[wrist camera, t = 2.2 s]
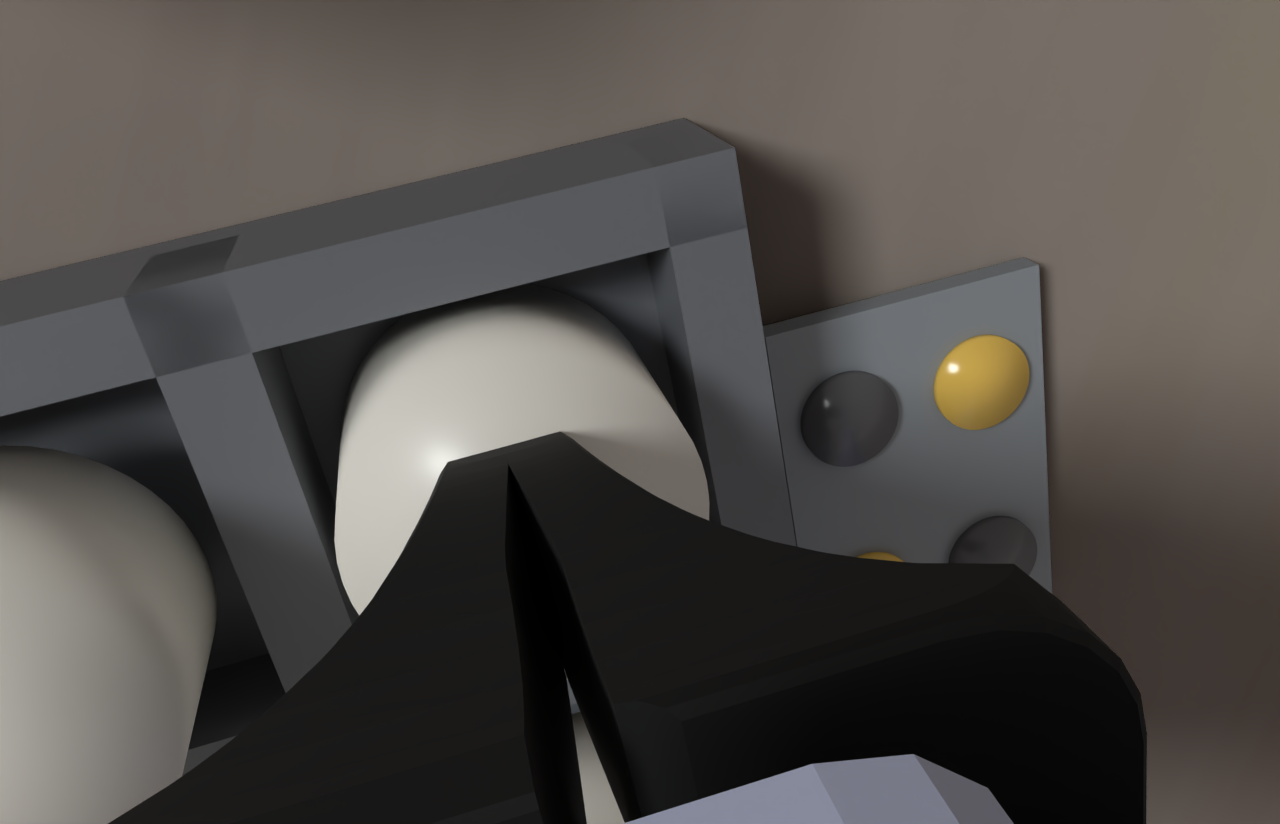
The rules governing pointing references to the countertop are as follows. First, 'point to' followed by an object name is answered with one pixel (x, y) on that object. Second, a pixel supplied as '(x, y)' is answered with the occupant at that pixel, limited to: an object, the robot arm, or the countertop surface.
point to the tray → (341, 338)
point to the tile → (919, 423)
